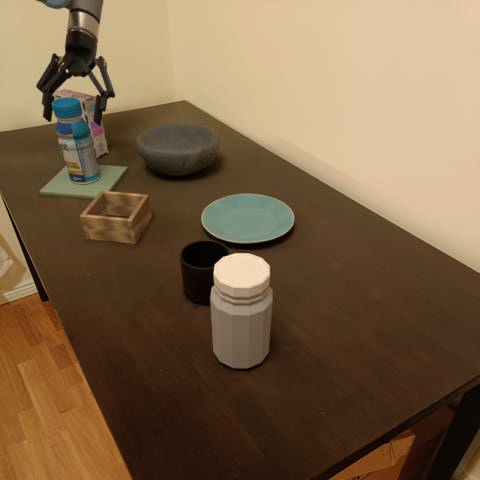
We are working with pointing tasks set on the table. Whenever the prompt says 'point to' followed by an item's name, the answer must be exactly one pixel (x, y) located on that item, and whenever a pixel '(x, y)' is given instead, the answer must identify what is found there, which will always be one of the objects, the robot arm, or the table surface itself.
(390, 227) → the table surface
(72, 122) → the beverage bottle
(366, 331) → the table surface
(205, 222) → the plate
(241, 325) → the jar
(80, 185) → the mat
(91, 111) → the candy box
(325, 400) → the table surface
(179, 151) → the bowl
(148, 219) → the wooden box
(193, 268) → the mug
